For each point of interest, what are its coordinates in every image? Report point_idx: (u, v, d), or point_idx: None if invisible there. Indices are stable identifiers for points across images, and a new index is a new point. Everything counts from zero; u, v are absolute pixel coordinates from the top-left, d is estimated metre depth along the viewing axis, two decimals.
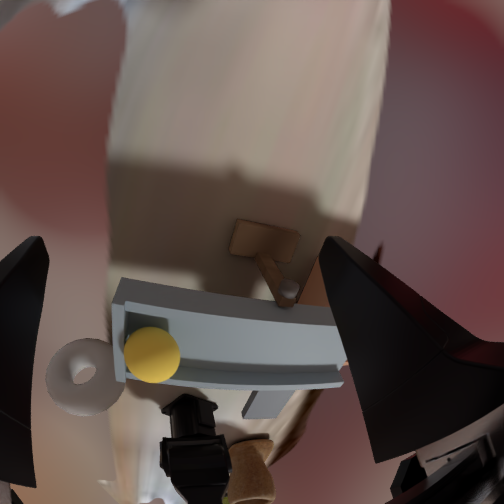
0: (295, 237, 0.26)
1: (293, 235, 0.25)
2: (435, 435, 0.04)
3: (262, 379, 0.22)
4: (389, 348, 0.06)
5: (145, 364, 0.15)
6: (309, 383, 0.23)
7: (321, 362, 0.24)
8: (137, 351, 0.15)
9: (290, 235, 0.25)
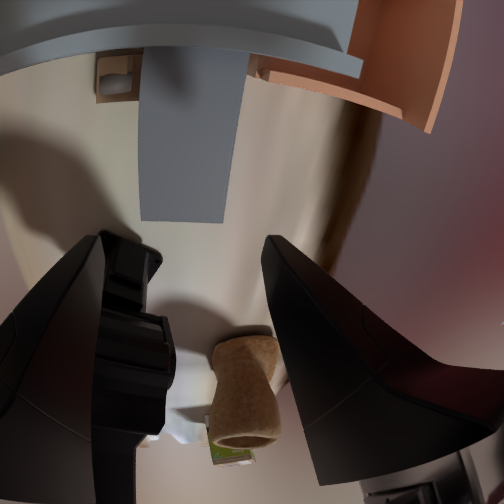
0: None
1: None
2: (372, 471, 0.04)
3: None
4: (321, 364, 0.05)
5: None
6: (253, 30, 0.07)
7: (285, 7, 0.07)
8: None
9: None
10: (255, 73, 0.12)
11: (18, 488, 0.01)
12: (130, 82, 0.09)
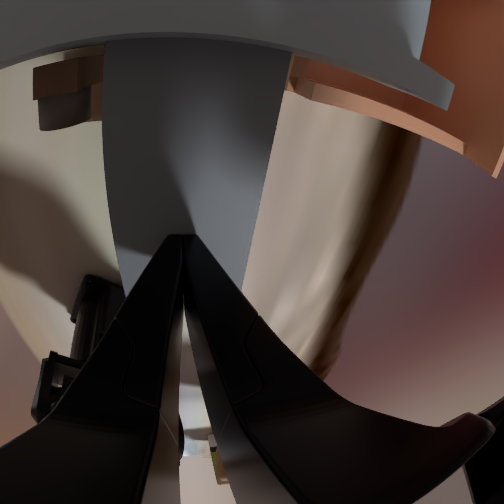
0: None
1: None
2: None
3: None
4: (208, 379, 0.05)
5: None
6: (319, 14, 0.03)
7: None
8: None
9: None
10: (286, 84, 0.08)
11: None
12: (88, 104, 0.05)
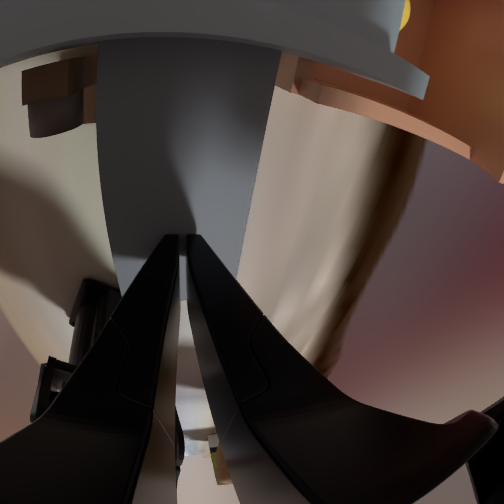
0: None
1: None
2: None
3: None
4: (213, 379, 0.05)
5: None
6: (316, 17, 0.03)
7: None
8: None
9: None
10: (290, 85, 0.08)
11: None
12: (80, 108, 0.04)
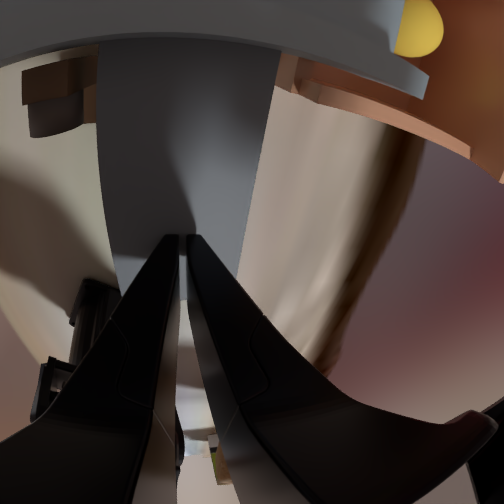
0: None
1: None
2: None
3: None
4: (213, 379, 0.05)
5: None
6: (316, 17, 0.03)
7: None
8: None
9: None
10: (290, 85, 0.08)
11: None
12: (80, 108, 0.04)
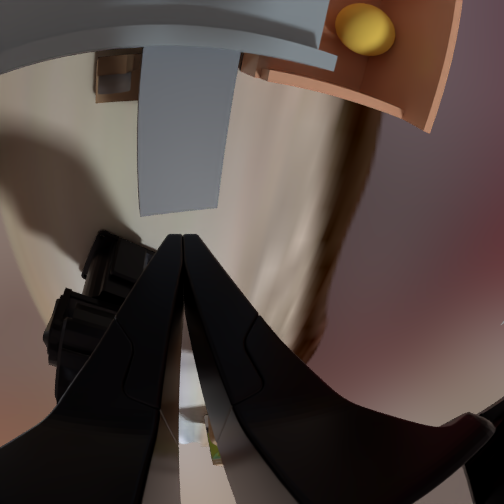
0: None
1: None
2: None
3: None
4: (209, 379, 0.05)
5: None
6: (252, 33, 0.08)
7: (269, 10, 0.08)
8: None
9: None
10: (254, 73, 0.12)
11: None
12: (130, 81, 0.09)
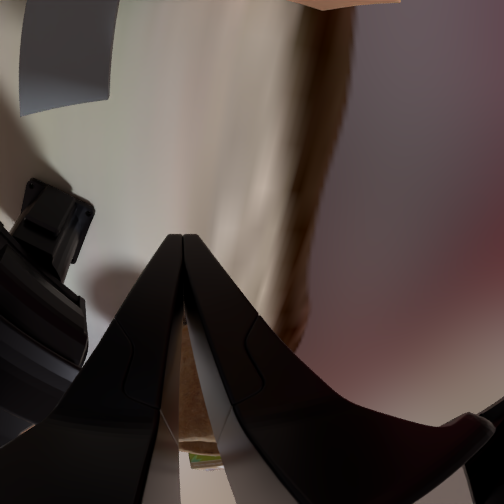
0: None
1: None
2: None
3: None
4: (208, 379, 0.05)
5: None
6: None
7: None
8: None
9: None
10: None
11: None
12: None
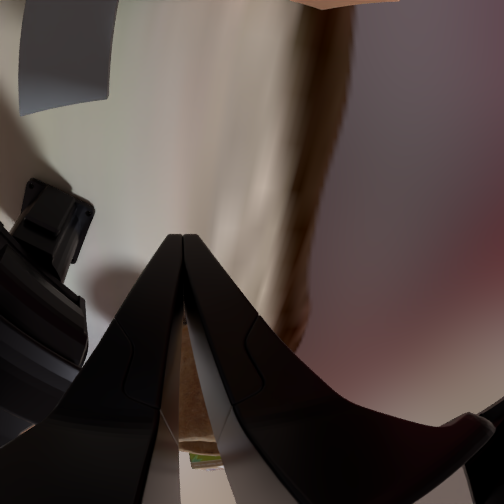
0: None
1: None
2: None
3: None
4: (209, 379, 0.05)
5: None
6: None
7: None
8: None
9: None
10: None
11: None
12: None
